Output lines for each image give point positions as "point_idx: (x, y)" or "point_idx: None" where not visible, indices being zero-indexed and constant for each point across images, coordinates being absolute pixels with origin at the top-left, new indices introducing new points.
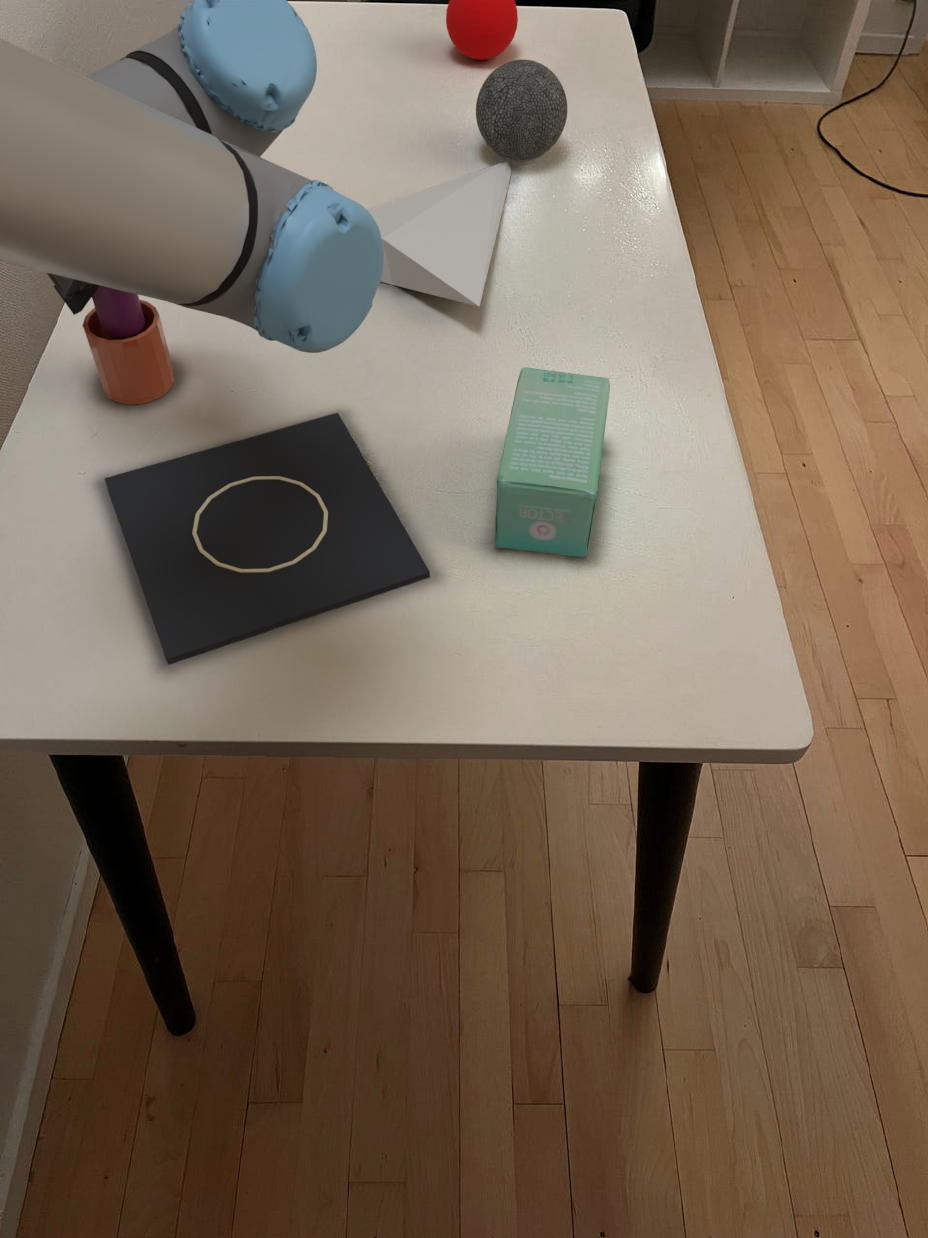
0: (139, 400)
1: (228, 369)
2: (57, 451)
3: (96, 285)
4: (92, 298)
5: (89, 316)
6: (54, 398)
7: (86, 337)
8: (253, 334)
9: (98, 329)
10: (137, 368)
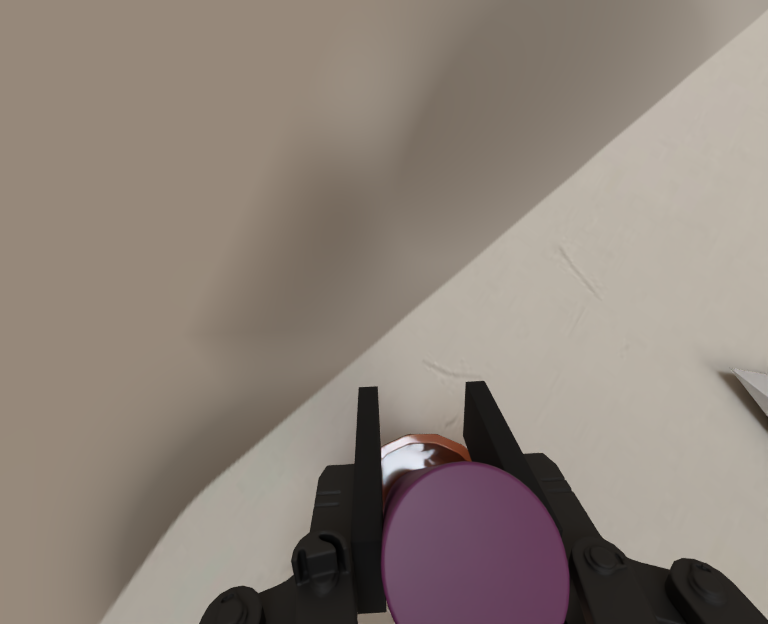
0: None
1: None
2: (231, 554)
3: (371, 610)
4: (384, 509)
5: (387, 453)
6: (307, 436)
7: None
8: (623, 538)
9: (398, 450)
10: None
